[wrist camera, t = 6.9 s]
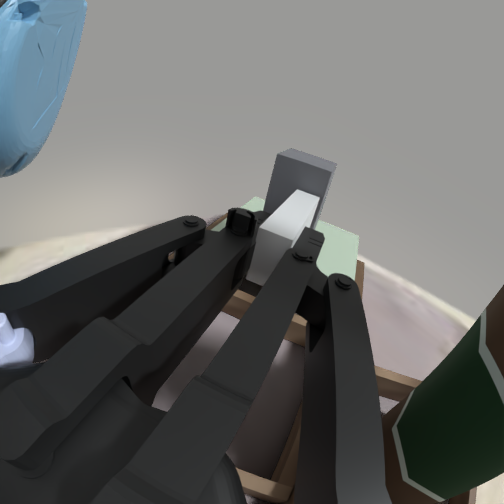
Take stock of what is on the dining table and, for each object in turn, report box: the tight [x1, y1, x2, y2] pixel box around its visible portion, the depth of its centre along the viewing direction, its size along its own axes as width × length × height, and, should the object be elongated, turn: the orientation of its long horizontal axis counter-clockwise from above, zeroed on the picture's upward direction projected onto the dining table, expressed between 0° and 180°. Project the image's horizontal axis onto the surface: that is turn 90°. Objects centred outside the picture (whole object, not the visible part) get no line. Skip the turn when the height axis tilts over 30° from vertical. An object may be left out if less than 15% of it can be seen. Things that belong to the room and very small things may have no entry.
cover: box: [211, 148, 359, 281], centre depth 23 cm, size 13×13×9 cm
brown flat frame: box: [49, 213, 477, 504], centre depth 16 cm, size 27×26×3 cm
